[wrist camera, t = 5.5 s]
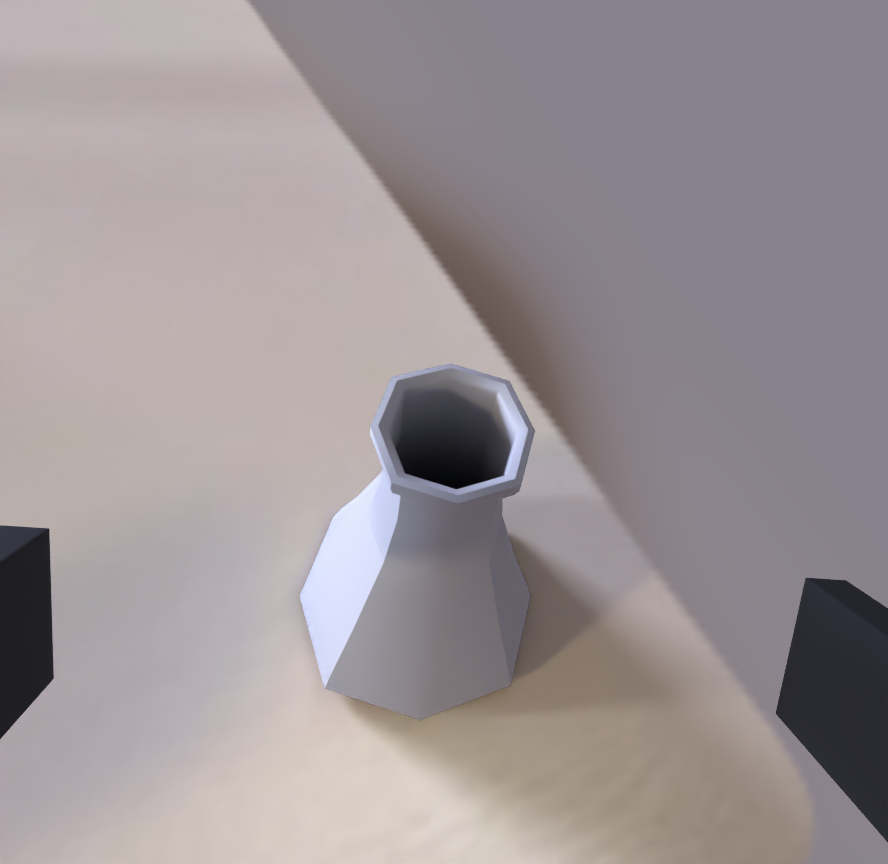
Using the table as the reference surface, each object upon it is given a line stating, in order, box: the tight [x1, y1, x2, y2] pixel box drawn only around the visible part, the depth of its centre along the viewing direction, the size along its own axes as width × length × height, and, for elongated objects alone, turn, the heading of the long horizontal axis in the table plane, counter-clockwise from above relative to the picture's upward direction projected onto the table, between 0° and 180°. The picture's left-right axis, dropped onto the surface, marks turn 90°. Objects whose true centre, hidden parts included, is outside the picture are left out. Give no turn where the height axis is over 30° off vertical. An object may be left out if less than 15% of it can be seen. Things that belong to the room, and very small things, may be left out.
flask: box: [300, 363, 535, 720], centre depth 17 cm, size 7×7×10 cm
